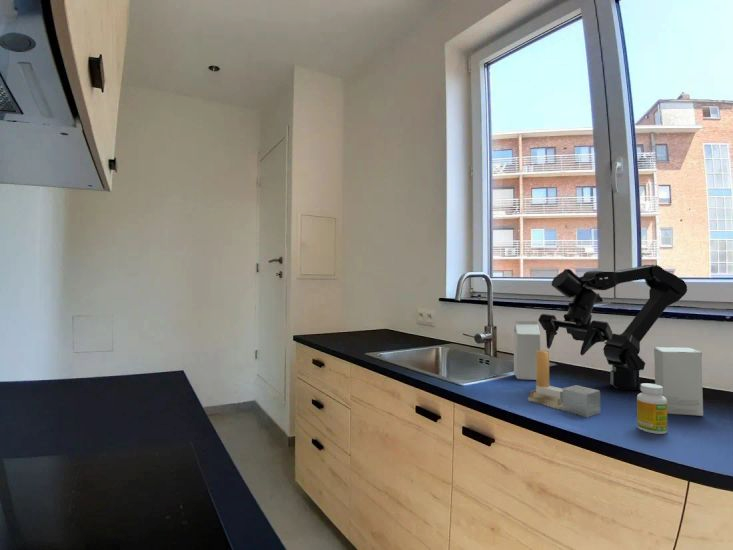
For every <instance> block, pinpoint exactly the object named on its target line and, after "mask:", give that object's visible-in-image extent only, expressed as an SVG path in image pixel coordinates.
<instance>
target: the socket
mask: <svg viewBox="0 0 733 550" xmlns="http://www.w3.org/2000/svg"><path fill="white" fill-rule="evenodd" d="M562 389H563V410H564V411H563V410H562V411H563V412H566V411H567V413H570V412H571V413H570V414H573V413H574V414H573V415H576V414H578V415H577V416H580V415H581V416H580V417H583V416H584V417H583V418H586V417H587V418H590V417H592V416H595V415H598V414H601V390H598V389H594V388H591V387H585V386H582V385H577V384H576V385H570V386H567V387H563V388H562ZM589 416H590V417H589Z"/></svg>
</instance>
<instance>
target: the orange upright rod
mask: <svg viewBox="0 0 733 550" xmlns="http://www.w3.org/2000/svg"><path fill="white" fill-rule="evenodd" d="M535 381H536V383H535V384H536V385H535V390H536V393H540V394H543V395H547V396H551V397H554V398H558V399H559V404H563V388H561V387H557V386H554V385H550V351H548V350H541V349H540V350H537V351H536V380H535Z"/></svg>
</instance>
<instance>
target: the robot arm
mask: <svg viewBox="0 0 733 550" xmlns="http://www.w3.org/2000/svg"><path fill="white" fill-rule="evenodd" d="M641 280H644V282H645V284H646V286H647V287H649V292H648V294H649V296H648V297H649V298H648V300H647V301H646V302H645V304H644V305H643V307H642V308H641V309H640V310H639V312H638V313H637V314H636V315H635V316H634V318H633V319H632V321H631V322H630V323H629V324H628V326H627V327H626V328H625V329H624V331H623V332H621V333H620V334H619V333H618V334H617V333H613V331H612V329H611V326H610V324H609V322H607V321H602V320H601V321H600V320H594V319H593V320H592V318H593V316H592V311H593V309H594V306H595V304H599V303H603V302H604V300H603V298H602V297H601V295H600V293H596V292H595V291H607V290H610V289H612V288H615V287H616V286H618V285H619V284H623V283H629V282H634V281H641ZM551 286H552V287H553V288H554V289H556V290H557V291H558V292H559V293H561V294H562V295H563V296H564V297H566V298H572V301H571V302H568V304H567V306H568V310H567V313H565V314H564V315H563V319H564V320H560V319H557V317H556V315H555V314H549V313H548V314H547V313H542V314H540V315H539V317H538V319H537V321H538V323H539V324H540V325H541V327H542V330H544V331H545V340H546V349H548V350H550V348H551V347H552V345H553V341H554V338H555V336H557V335H558V331H559V328H564V329H565V330H566V333H567V334H568V335H571V336H572V337H571V338H572V339H573V340H575V341H581V342H582V345H581V348H580V352H579V354H580V355H581V356H584V355H585V354H586V353H587V352H588V351H589V350H591V348H592V347H593V346H594V345H595V344H598V343H604V347H603V349H602V351H603V354H604V357H605V358H606V362H607V364H608V365H610V366H611V367H612V368H611V369H610V371H609V372H610V375H609V376H610V382H609V383H610V385H611V386H612V385H613V387H614V388H615V389H617V390H624V391H625V390H627V391H641V389H640V388H641V386H640V371H643V370H645V366H646V362H645V361H644V360H643V359H642V358H641V357H640V355H639V353H640V352H641V343H640V342H641V341H642V340H643V338H644V337H645V336H646V335H647V333H648V332H649V331H650V329H651V328H652V327H653V325H654V324H655V323H656V321H657V320H658V319H659V318H660V316H661V315H662V314H663V312H664V311H665V310H666V308H667V307H669V306H671V305H673V304H675V303H677V302H679V301H680V300H681V299H682V298H683V297H684V296H685V295H686V293H687V292H688V286H687V283H686V282H685V280H683V279H682V278H680V277H678V276H677V274H676V275H675V274H674V273H671V272H669V271H667V270H666V269H664V268H663V267H661V266H660V265H657V264H643V265H641V266H635V267H629V268H624V269H618V270H590V271H586V272H585V273H583V275H582V276H578V275H577V274H575V272H573V270H571V269H570V268H565V269H564V270H563V271H562V272H560V273H559V274H557V275H556V276H555V277H554V278H553V279H552V281H551Z"/></svg>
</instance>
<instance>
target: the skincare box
mask: <svg viewBox="0 0 733 550" xmlns="http://www.w3.org/2000/svg"><path fill="white" fill-rule="evenodd" d="M653 355H654V358H653V359H654V384H656V385H660V386H662V387H663V394H662V396H664V397H665V398H666V399H667V415H668V414H670V415H681V416H682V415H685V416H699V417H704V398H703V396H704V395H703V368H702V367H703V364H702V362H703V361H702V359H703V357H702V355H703V353H702V352H701V351H700V350H697V349H694V348H692V347H672V346H671V347H665V346H664V347H663V346H662V347H661V346H654V347H653Z"/></svg>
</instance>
